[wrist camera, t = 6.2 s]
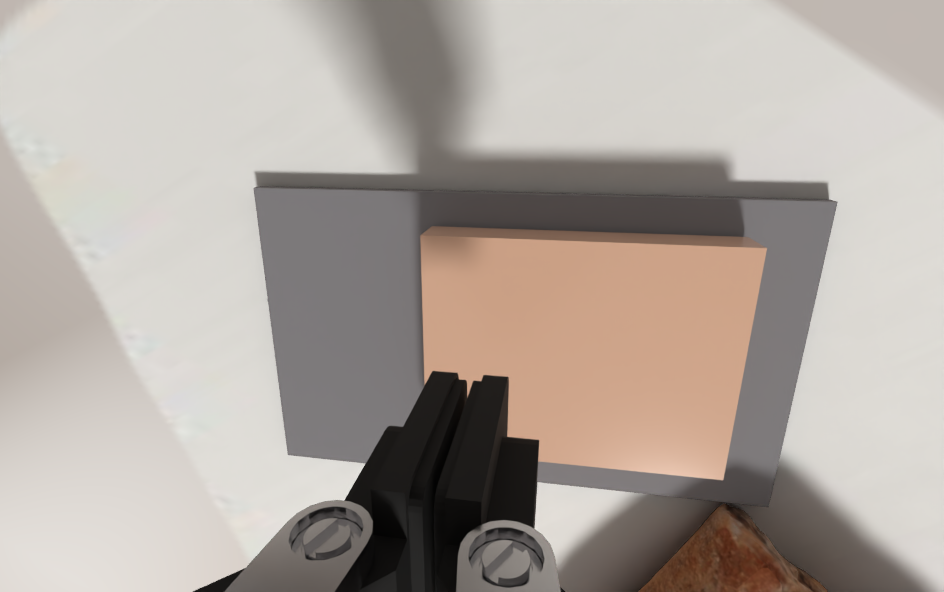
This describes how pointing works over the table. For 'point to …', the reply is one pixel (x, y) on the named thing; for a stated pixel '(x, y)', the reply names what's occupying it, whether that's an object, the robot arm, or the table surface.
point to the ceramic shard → (730, 561)
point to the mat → (414, 211)
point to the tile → (599, 338)
